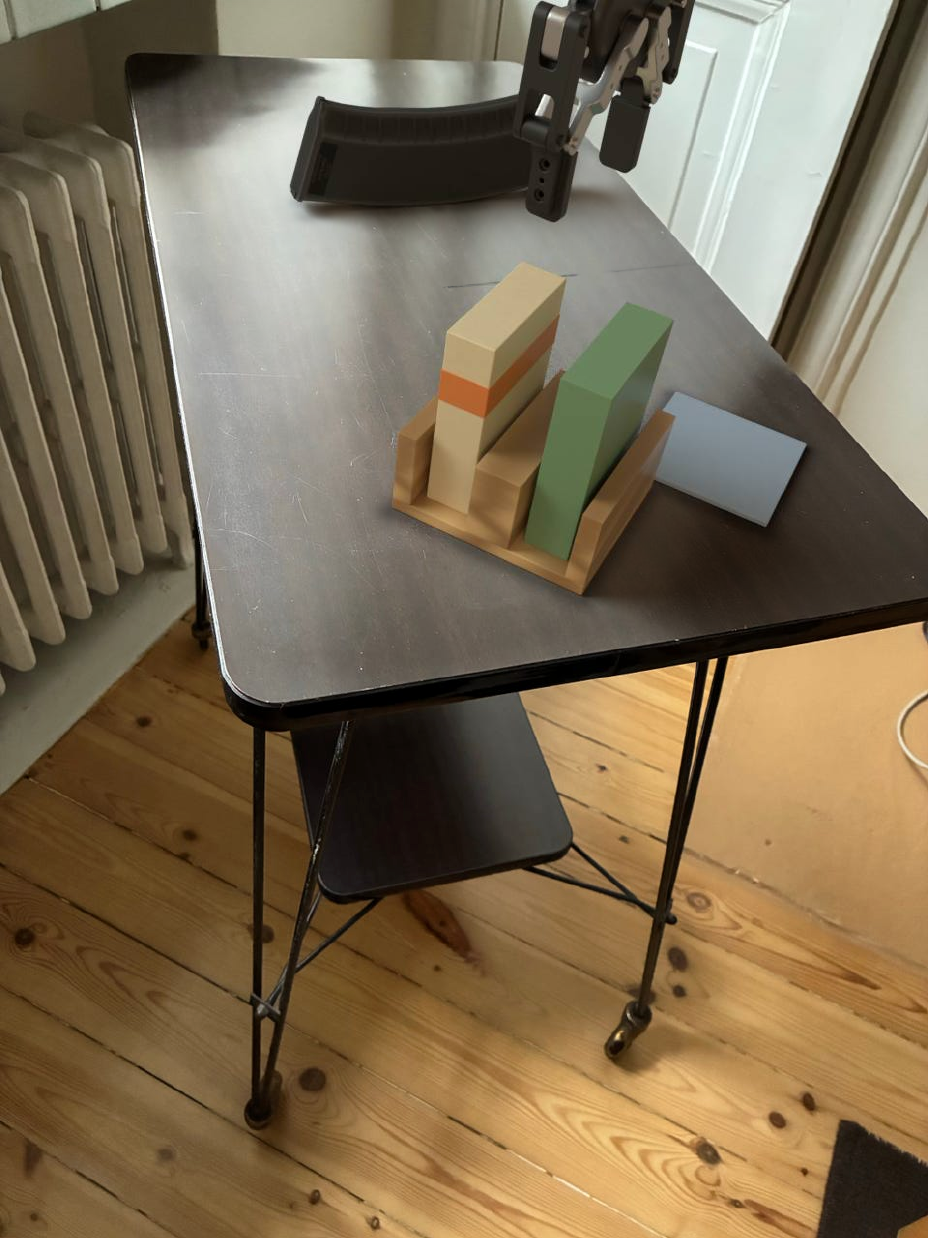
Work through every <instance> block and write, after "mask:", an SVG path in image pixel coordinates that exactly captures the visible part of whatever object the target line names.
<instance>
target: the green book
mask: <svg viewBox="0 0 928 1238" xmlns="http://www.w3.org/2000/svg"><path fill="white" fill-rule="evenodd" d="M674 322H675V319H674V318H671V317H669V316H665V315H663V314H660V313H658V312H655V311H652V310H650V309H648V308H645V307H642V306H639V305H637V304H634V303H631V302H629V301H626V302H625V303H624V304H623V305H622V307H621V308H620V309H618V311H617V312H616V313H615V315H614V316H612V318H611V319H610V320H609V322H608V323H607V324H606V325H605V326H604V327H603V329H602V330H601V331H600V332H599V333H598V334H597V336H596V337H595V338H594V339H593V340H592V342H590V344H589V345H588V346H586V348H585V349H584V351H582V353H581V354H580V355H579V356H578V357H577V358H576V360H575V361H574V362H573V363H572V364H571V366H570V367H569V368H568V369H567V370H566V371H567V372H566V373H565V374H564V375H563V376H562V377H561V379H560V383H559V388H558V392H557V397H556V401H555V405H554V410H553V414H552V418H551V423H550V427H549V431H548V436H547V440H546V444H545V449H544V453H543V457H542V462H541V466H540V470H539V475H538V479H537V483H536V488H535V492H534V497H533V501H532V505H531V510H530V514H529V518H528V523H527V527H526V531H525V536H524V540H523V541H524V542H526V543H528V544H530V545H532V546H535V547H537V548H539V549H541V550H543V551H546V552H548V553H550V554H552V555H554V556H556V557H559V558H561V559H563V560H565V561H567V560H568V559H569V557H570V556H571V554H572V550H573V547H574V543H575V540H576V536H577V533H578V529H579V526H580V522H581V519H582V515H583V513H584V512H585V510H586V509H587V508H588V506H589V505H590V503H591V502H592V500H593V499H594V498H595V496H596V495H597V493H598V492H599V491H600V489H601V488H602V486H603V485H604V484H605V482H606V481H607V479H608V478H609V476H610V475H611V474H612V472H613V471H614V469H615V468H616V467H617V465H618V464H619V462H620V461H621V459H622V458H623V457H624V455H625V454H626V452H627V451H628V450H629V448H630V447H631V445H632V444H633V442H634V441H635V440H636V438H637V437H638V435H639V434H640V431H641V430H640V429H641V426H642V423H643V421H644V420H643V419H644V416H645V413H646V410H647V408H648V405H649V401H650V398H651V396H652V395H651V394H652V391H653V388H654V386H655V382H656V379H657V376H658V372H659V369H660V366H661V363H662V360H663V358H664V357H663V356H664V354H665V350H666V347H667V344H668V341H669V338H670V335H671V332H672V329H673V325H674Z"/></svg>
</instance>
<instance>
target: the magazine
mask: <svg viewBox="0 0 928 1238" xmlns="http://www.w3.org/2000/svg"><path fill="white" fill-rule="evenodd" d="M518 94H519V91H518V93H516V94H512V95H507V96H504V97H498V98H493V99H489V100H484V101H479V102H475V103H474V102H473V103H465V104H457V105H448V106H436V107H435V106H433V107H432V106H431V107H401V106H399V107H394V106H393V107H392V106H391V107H390V106H389V107H387V106H386V107H383V106H381V107H379V106H377V107H376V106H375V107H373V106H363V105H355V104H348V103H342V102H338V101H334V100H329V99H326V98H325V96H321V95H317V96H316V98H315V100H314V104H313V108H312V109H311V111H310V113H309V114H308V117H307V120H306V124H305V128H304V131H303V134H302V139H301V142H300V146H299V149H298V152H297V153H298V154H297V157H296V161H295V165H294V167H293V172H292V175H291V179H290V183H289V192H290V195H291V196H292V198H293V200H294V201H295V200H296V202H297V203H303V202H313V203H314V202H315V203H329V204H340V205H355V206H365V207H366V206H369V207H422V206H436V205H449V204H456V203H464V202H470V201H475V200H482V199H485V198H491V197H495V196H498V195H503V194H508V193H511V192H515V191H519V190H524V189H527V188H528V182H529V176H530V170H531V165H532V159H533V153H534V147H535V146H534V144H532V143H530V142H527V141H525V140H522V139H520V138H517V137H515V136H514V135H513V132H512V129H513V123H514V117H515V111H516V106H517V100H518ZM543 96H544V94H543V93H540V92H539V94H538V100H537V105H536V110H535V113H536V111H537V109H538V107H539V105H540V102H541V100H542V98H543Z"/></svg>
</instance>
